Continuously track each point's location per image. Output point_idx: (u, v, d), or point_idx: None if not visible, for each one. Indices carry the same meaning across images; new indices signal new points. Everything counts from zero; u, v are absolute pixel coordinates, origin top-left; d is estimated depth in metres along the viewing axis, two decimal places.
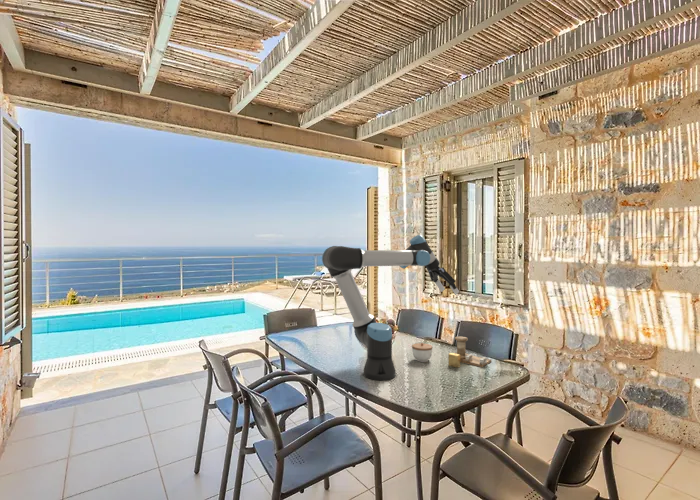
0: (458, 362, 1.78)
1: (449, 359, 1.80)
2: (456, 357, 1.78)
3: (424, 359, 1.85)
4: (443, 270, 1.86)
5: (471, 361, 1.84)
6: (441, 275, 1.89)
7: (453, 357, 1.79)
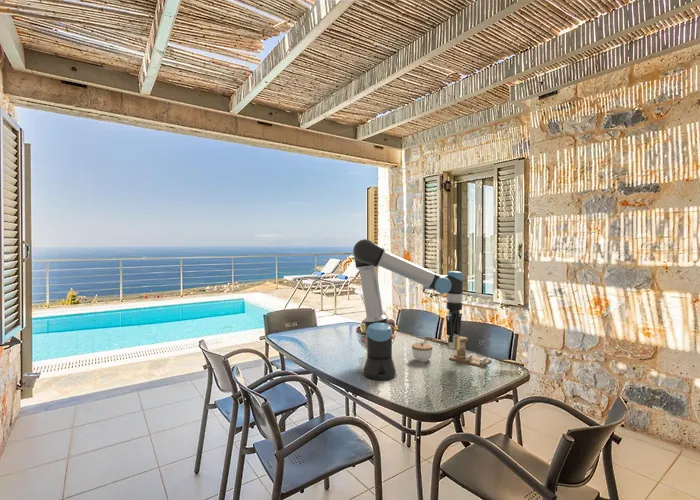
0: (457, 344, 1.78)
1: (448, 342, 1.80)
2: (455, 340, 1.77)
3: (424, 359, 1.85)
4: (448, 319, 1.75)
5: (471, 361, 1.84)
6: None
7: None
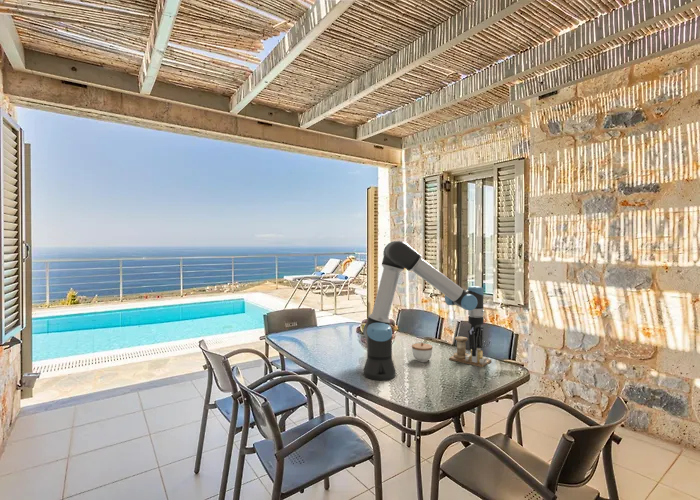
0: None
1: (471, 355, 1.84)
2: (479, 353, 1.81)
3: (424, 359, 1.85)
4: (471, 333, 1.79)
5: None
6: None
7: None
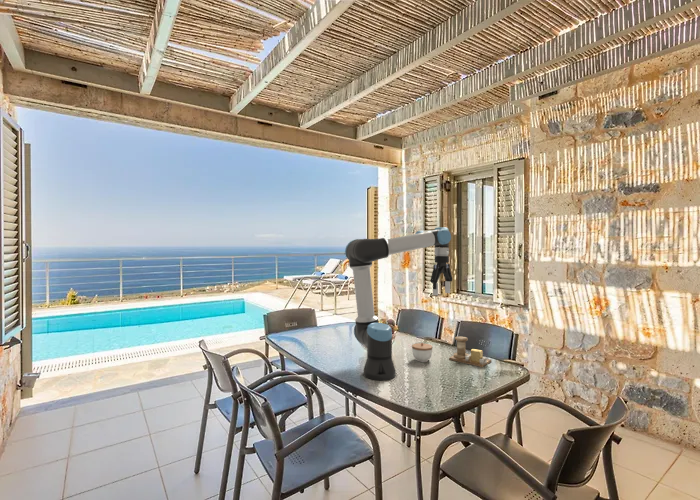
0: None
1: (471, 355, 1.84)
2: (479, 353, 1.81)
3: (424, 359, 1.85)
4: (435, 267, 1.89)
5: None
6: None
7: (476, 353, 1.82)
